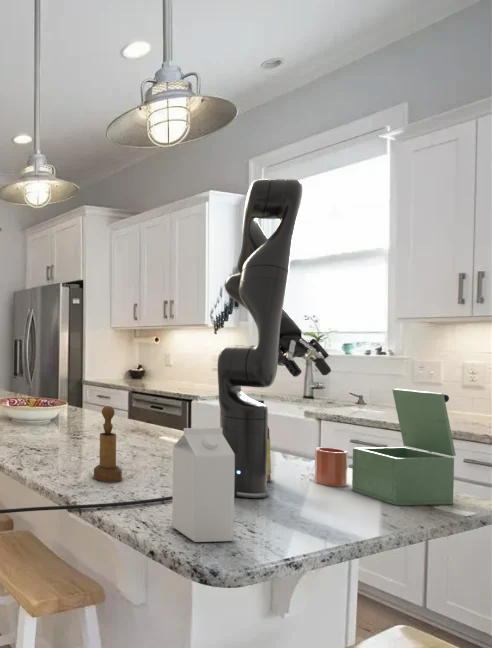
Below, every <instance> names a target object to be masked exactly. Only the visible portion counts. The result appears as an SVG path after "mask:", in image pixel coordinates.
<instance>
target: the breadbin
mask: <svg viewBox="0 0 492 648" xmlns="http://www.w3.org/2000/svg"><path fill="white" fill-rule="evenodd" d="M351 472H352V475H351V476H352V477H351V479H352V480H351V483H352V484H351V490H352V491H354V492H357V493H360V494H363V495H365V496H367V497H371V498H373V499H376V500H379V501H382V502H385V503H389V504H391V505H393V506H432V505H435V506H437V505H439V506H440V505H453V504H454V484H455V483H454V482H455V481H454V479H455V457H453V456H449V455H444V454H440V453H435V452H430V451H426V450H421V449H417V448H412V447H408V446H390V447H389V446H386V447H385V446H382V447H381V446H380V447H379V446H378V447H352V471H351Z"/></svg>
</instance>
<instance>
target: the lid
mask: <svg viewBox="0 0 492 648" xmlns="http://www.w3.org/2000/svg"><path fill="white" fill-rule="evenodd" d="M392 396H393V399H394V405H395V410H396V414H397V419H398V424H399V429H400V434H401V438H402V444H403V445H402V446H403V447H407V448H412V449H416V450H421V451H425V452H430V453H434V454H439V455H444V456H448V457H457V456H456V449H455V445H454V439H453V435H452V434H453V433H452V430H451V429H452V428H451V424H450V420H449V414H448V409H447V404H446V403H448V402H449V400H450V397H449V395H447V394H444V393H441V392H433V391H432V392H431V391H423V390H422V391H421V390H413V389H403V388H392Z"/></svg>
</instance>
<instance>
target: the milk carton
mask: <svg viewBox="0 0 492 648" xmlns="http://www.w3.org/2000/svg"><path fill="white" fill-rule="evenodd" d="M234 476H235V454H234V452H233V451H232V449H231V447H230V446H229V444H228V442H227V441H226V439H225V437H224V436H223V434H222V428H220V427H185V428H183V434H182V435H181V436H180V437H179V439H178V440H177V441H176V442H175V444H174V445H173V446H172V496H173V500H172V506H171V507H172V509H171V510H172V511H171V512H172V513H171V515H172V516H171V519H172V520H171V522H172V523H171V527H172V528H173V529H175V530H176V531H178V532H179V533H181V535H184V536H185V537H186V538H188V539H190V540H191V541H193V542H194V543H209V542H234V539H235V537H234V536H235V535H234V534H235V496H234Z"/></svg>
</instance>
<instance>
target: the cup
mask: <svg viewBox="0 0 492 648" xmlns="http://www.w3.org/2000/svg"><path fill="white" fill-rule="evenodd" d="M314 482H316V483H317V484H320V485H324V486H327V487H328V486H329V487H336V488H337V487H338V488H340V487H341V488H343V487H346V486H347V485H348V451H347V450H345V449H342V448H335V447H327V446H326V447H325V446H323V447H322V446H320V447H315V449H314Z"/></svg>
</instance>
